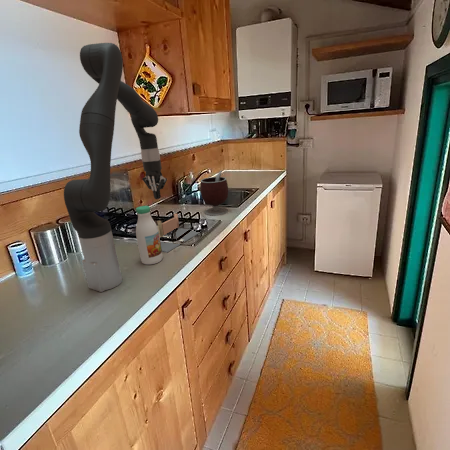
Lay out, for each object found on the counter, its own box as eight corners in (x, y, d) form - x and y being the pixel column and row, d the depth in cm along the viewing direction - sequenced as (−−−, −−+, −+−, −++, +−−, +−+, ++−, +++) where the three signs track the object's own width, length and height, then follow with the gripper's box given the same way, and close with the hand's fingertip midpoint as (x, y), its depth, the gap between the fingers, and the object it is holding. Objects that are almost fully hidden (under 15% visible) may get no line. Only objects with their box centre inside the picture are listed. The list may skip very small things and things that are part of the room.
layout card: (167, 252, 114) (167, 251, 113) (137, 246, 122) (137, 245, 122) (201, 232, 131) (201, 231, 131) (173, 227, 139) (173, 226, 139)
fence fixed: (143, 247, 120) (140, 230, 117) (140, 246, 120) (137, 230, 118) (164, 236, 129) (161, 220, 127) (161, 235, 130) (159, 220, 127)
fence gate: (164, 235, 129) (162, 221, 127) (161, 234, 130) (159, 220, 128) (180, 227, 137) (178, 213, 135) (177, 226, 138) (175, 213, 136)
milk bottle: (141, 266, 104) (130, 212, 97) (141, 257, 111) (131, 205, 104) (163, 262, 106) (154, 208, 99) (162, 253, 113) (153, 202, 106)
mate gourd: (221, 217, 147) (217, 177, 140) (197, 215, 154) (193, 176, 147) (235, 208, 160) (233, 170, 153) (213, 206, 166) (210, 170, 159)
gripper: (133, 160, 128) (140, 199, 134) (156, 161, 121) (162, 202, 128) (146, 157, 134) (152, 195, 140) (168, 158, 127) (174, 197, 133)
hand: (157, 198), depth 134 cm, fingers closed
